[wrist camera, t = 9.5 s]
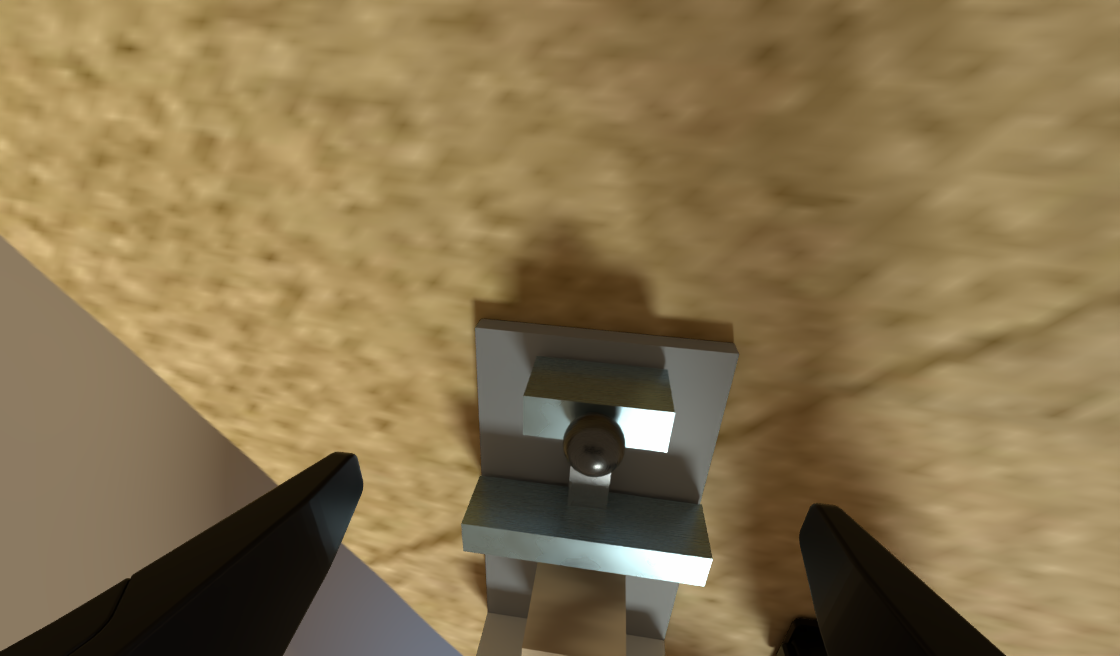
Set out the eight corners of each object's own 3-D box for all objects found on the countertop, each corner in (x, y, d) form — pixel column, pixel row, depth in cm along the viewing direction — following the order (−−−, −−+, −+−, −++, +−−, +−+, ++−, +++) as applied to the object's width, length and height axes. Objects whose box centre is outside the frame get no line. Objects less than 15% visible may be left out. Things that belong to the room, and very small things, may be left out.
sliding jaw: (736, 372, 20) (774, 462, 15) (694, 530, 24) (713, 638, 20) (473, 345, 21) (427, 420, 16) (481, 501, 26) (446, 597, 21)
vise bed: (734, 343, 21) (760, 400, 17) (658, 641, 32) (663, 719, 28) (481, 318, 22) (449, 366, 18) (492, 615, 33) (473, 686, 29)
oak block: (625, 551, 26) (626, 665, 21) (613, 622, 30) (611, 736, 24) (541, 540, 27) (521, 648, 22) (538, 611, 30) (521, 720, 25)
